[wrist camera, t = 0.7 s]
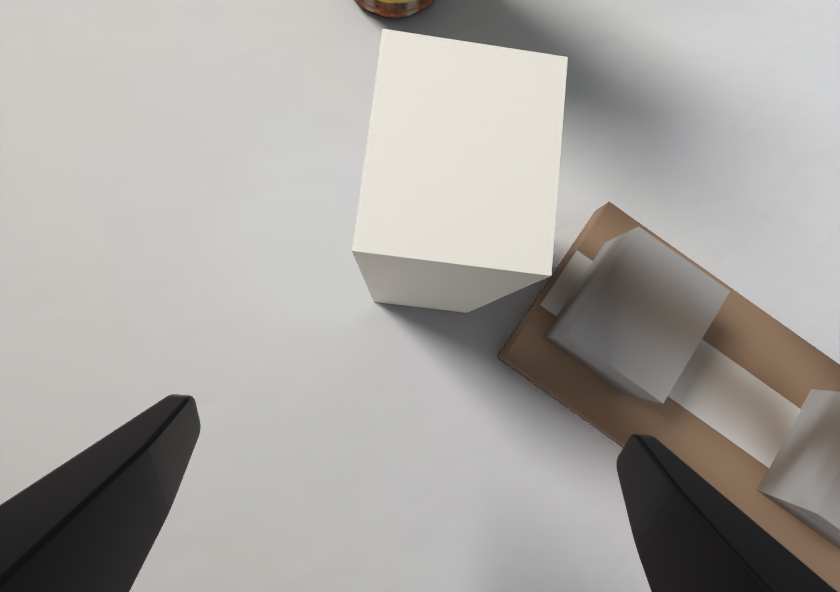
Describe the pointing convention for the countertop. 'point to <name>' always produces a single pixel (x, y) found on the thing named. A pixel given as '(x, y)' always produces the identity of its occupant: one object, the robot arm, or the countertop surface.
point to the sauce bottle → (394, 7)
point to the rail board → (692, 378)
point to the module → (459, 172)
